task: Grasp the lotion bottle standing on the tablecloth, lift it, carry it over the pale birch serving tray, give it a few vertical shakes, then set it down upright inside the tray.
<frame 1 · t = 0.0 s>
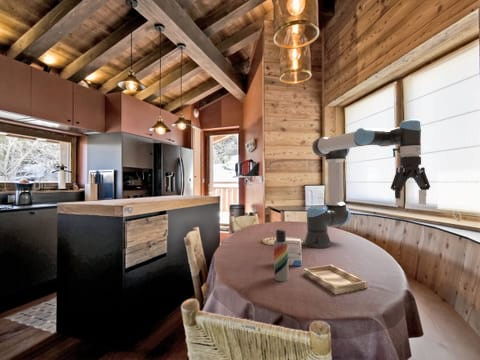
hand: (411, 205, 110), 28 cm above the table, fingers open, 13 cm apart
lotion bottle: (281, 279, 103), on the table
tray: (333, 280, 100), on the table
ink box: (292, 264, 121), on the table
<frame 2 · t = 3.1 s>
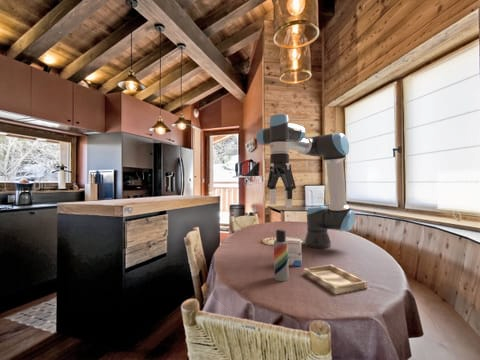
hand: (280, 206, 103), 30 cm above the table, fingers open, 13 cm apart
nothing on the table moved.
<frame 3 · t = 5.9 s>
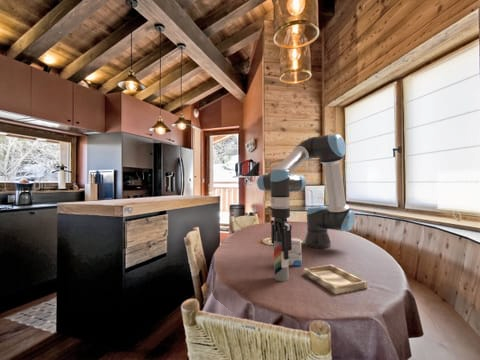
hand: (281, 264, 103), 6 cm above the table, fingers closed on lotion bottle, 6 cm apart
lotion bottle: (281, 279, 103), on the table, touching gripper
everything else where it was.
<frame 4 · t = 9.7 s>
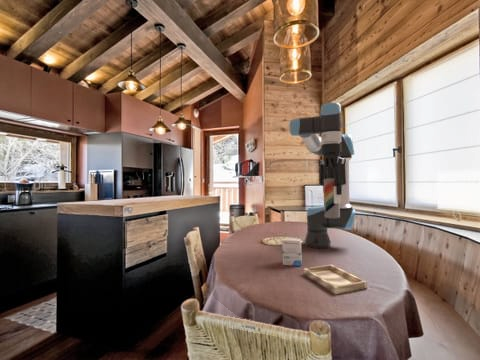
hand: (332, 202, 100), 31 cm above the table, fingers closed on lotion bottle, 6 cm apart
lotion bottle: (332, 217, 101), point 25 cm above the table, touching gripper
everything else where it was.
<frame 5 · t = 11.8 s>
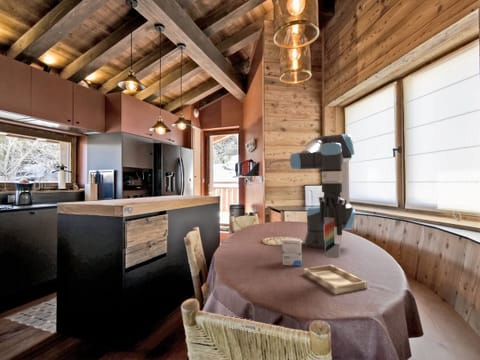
hand: (332, 241, 100), 16 cm above the table, fingers closed on lotion bottle, 6 cm apart
lotion bottle: (332, 256, 100), point 10 cm above the table, touching gripper
everything else where it was.
when the fingers open (8 cm above the table, at t = 13.5 s): lotion bottle drops 1 cm, resting on tray.
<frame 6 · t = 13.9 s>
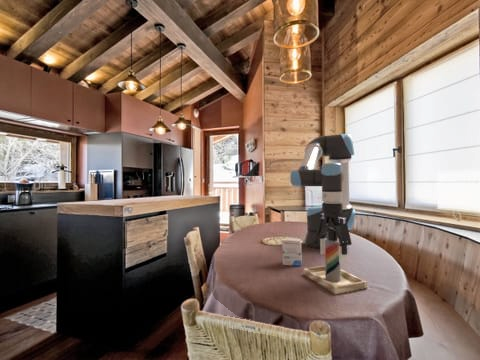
hand: (332, 258, 100), 9 cm above the table, fingers open, 10 cm apart
lotion bottle: (332, 279, 100), resting on tray
everything else where it was.
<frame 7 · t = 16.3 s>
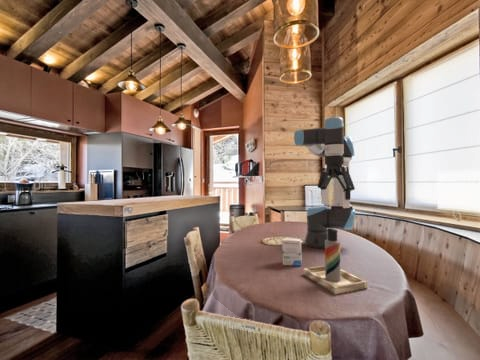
hand: (334, 205, 107), 29 cm above the table, fingers open, 13 cm apart
nothing on the table moved.
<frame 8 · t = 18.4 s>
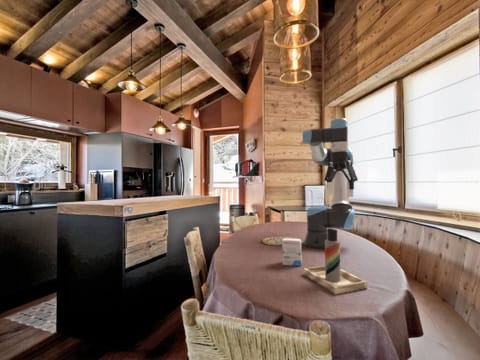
hand: (340, 196, 122), 32 cm above the table, fingers open, 13 cm apart
nothing on the table moved.
at the end: lotion bottle inside the target area on the tray (0.1 cm from its centre), point 0.4 cm above the tray's base; lotion bottle tilted 0°; the gripper is holding nothing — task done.
